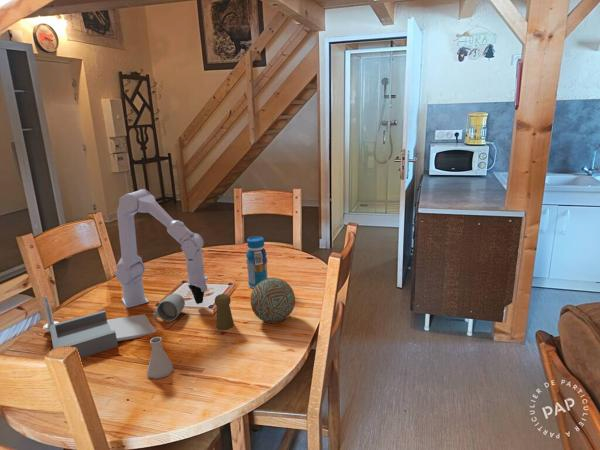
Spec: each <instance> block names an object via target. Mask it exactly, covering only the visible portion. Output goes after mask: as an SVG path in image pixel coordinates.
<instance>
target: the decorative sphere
mask: <svg viewBox="0 0 600 450" xmlns="http://www.w3.org/2000/svg"><path fill="white" fill-rule="evenodd" d="M295 304H296V296H295V291H294V290H293V287H292V286H291V285H290V284H289V283H288V282H286V281H285V280H283V279H281V278H278V277H268V278H267V279H265V280H263V281H261V282H259V283H258V284H257V285H256V286H255V288H252V291H251V294H250V306H251V309H252V312H253V313H254V315H255V316H256V317H257V318H258V319H259V320H261V321H263V322H265V323H269V324H276V323H280V322H283V321H285V320H286V319H288V318H289V317H290V315H291V314H292V313H293V311H294V308H295Z"/></svg>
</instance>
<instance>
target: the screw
mask: <svg viewBox="0 0 600 450" xmlns="http://www.w3.org/2000/svg"><path fill="white" fill-rule="evenodd" d="M42 301H43V308H44V309H43V310H44V313H45V318H46V321H47V323H46V324H44V325H43V326H42V328H43V330H45V331H47V333H49V334H51V332H50V327H49V325H52V324H56V323H60V321H55V320H54V316H53V313H52V308H51V303H50V301H49V299H48V296H47V295H44V296H42Z"/></svg>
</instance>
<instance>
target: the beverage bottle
mask: <svg viewBox="0 0 600 450" xmlns="http://www.w3.org/2000/svg"><path fill="white" fill-rule="evenodd" d="M246 244H247V248H248V249H247V252H246V255H245V257H246V258H247V259H246V266H247V278H248V281H247V282H248V286H249V287H250V288H251V289H254V288H255V286H256V285H257V284H258V283H259V282H261V281H263V280H265V279H267V278H269V277H268V275H269V274H268V273H269V272H268V258H267V255H268V254H267V251H266V249H265V248H264V246H265V238H264V237H262V236H258V235H257V236H250V237H248V238H247V240H246Z"/></svg>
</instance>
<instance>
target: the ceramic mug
mask: <svg viewBox="0 0 600 450" xmlns="http://www.w3.org/2000/svg"><path fill="white" fill-rule="evenodd" d="M185 303H186V302H185V299H184V298H183V296H182V295H180V294H178V293H172V294H169V295H168V296H166V297H165V298H164V299H162V301H161V302H159V304H158V305H157V307H156V310H155V311H154V312H153V313H152V315H153V317H154V318H160V319H161V320H163V321H165V322H172V321H173V322H174V321H175V320H176V319H177V318H178V317H179V315H180V314H181V313H182V311H183V310H184V309H185V305H186V304H185Z"/></svg>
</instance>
